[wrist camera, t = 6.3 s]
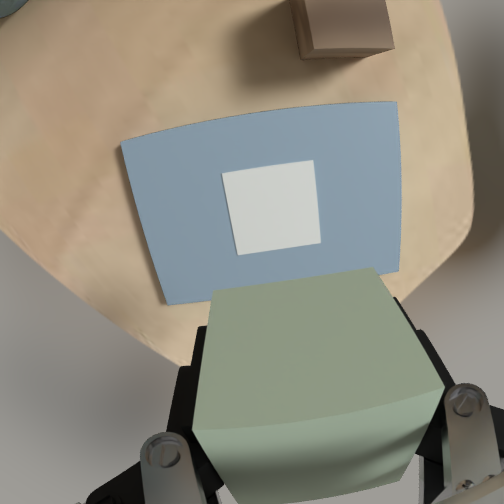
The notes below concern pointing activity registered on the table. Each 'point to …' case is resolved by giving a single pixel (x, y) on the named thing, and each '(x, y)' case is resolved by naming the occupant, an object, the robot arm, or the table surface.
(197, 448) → the robot arm
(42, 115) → the table surface
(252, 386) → the sage block
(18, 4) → the teal plant pot
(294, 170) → the board
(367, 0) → the walnut block
